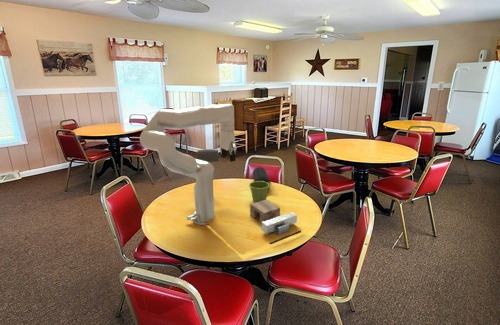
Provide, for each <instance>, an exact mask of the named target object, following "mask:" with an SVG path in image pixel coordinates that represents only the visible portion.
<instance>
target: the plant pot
mask: <svg viewBox="0 0 500 325" xmlns="http://www.w3.org/2000/svg"><path fill="white" fill-rule="evenodd" d="M269 185H270V186H271V183H270V184H269V183H267V182H264V181H255V182H254V181H252V182H249V184H248V187H249V188H250V192H251V197H252V202H253V203H257V202H260V201H263V200H267V196H268V187H269ZM269 188H270V187H269Z"/></svg>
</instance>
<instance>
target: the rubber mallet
mask: <svg viewBox="0 0 500 325" xmlns="http://www.w3.org/2000/svg"><path fill="white" fill-rule="evenodd" d="M219 156H220V154H219V150H218V149H213V148H211V149H198V150H197V151H196V159H198V160H203V161H207V162H209V163H213V162H214V163H215V162H219V161H220V160H219Z"/></svg>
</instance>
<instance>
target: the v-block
mask: <svg viewBox="0 0 500 325" xmlns="http://www.w3.org/2000/svg"><path fill="white" fill-rule="evenodd" d="M288 232H290V225H289V224H285V225H282V226H279V227H277V230H275V231H273V233H275V234H276V235H278V236H281V235H283V234H286V233H288ZM300 233H302V230H299V231H296V232H294V233H290V234H288V235H285V236H284V237H280V238H278V239H276V240H273V241H271V242H269V244H270V245H273V244H276V243H278V242H281V241H282V240H285V239H288V238H290V237H294V236H296V235H298V234H300Z"/></svg>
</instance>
